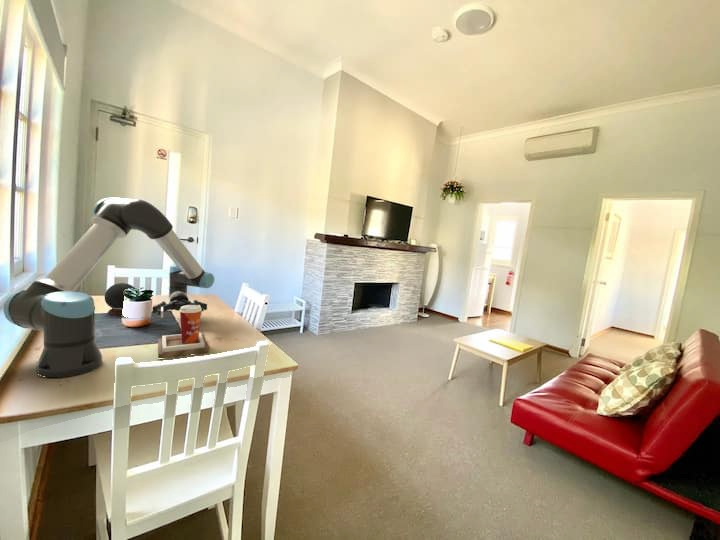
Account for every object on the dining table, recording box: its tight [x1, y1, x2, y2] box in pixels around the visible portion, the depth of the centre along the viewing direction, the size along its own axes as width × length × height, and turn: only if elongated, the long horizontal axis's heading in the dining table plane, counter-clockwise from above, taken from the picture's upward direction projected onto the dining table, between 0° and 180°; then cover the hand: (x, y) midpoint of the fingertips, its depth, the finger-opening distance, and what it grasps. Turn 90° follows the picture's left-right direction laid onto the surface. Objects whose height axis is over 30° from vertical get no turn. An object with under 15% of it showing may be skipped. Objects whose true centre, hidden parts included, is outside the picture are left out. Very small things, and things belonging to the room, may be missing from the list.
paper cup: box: [178, 305, 203, 344], centre depth 119 cm, size 8×8×14 cm
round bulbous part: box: [104, 282, 136, 317], centre depth 152 cm, size 13×13×15 cm
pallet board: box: [157, 331, 210, 359], centre depth 118 cm, size 16×16×4 cm
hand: (181, 313), depth 125 cm, fingers open, 13 cm apart
